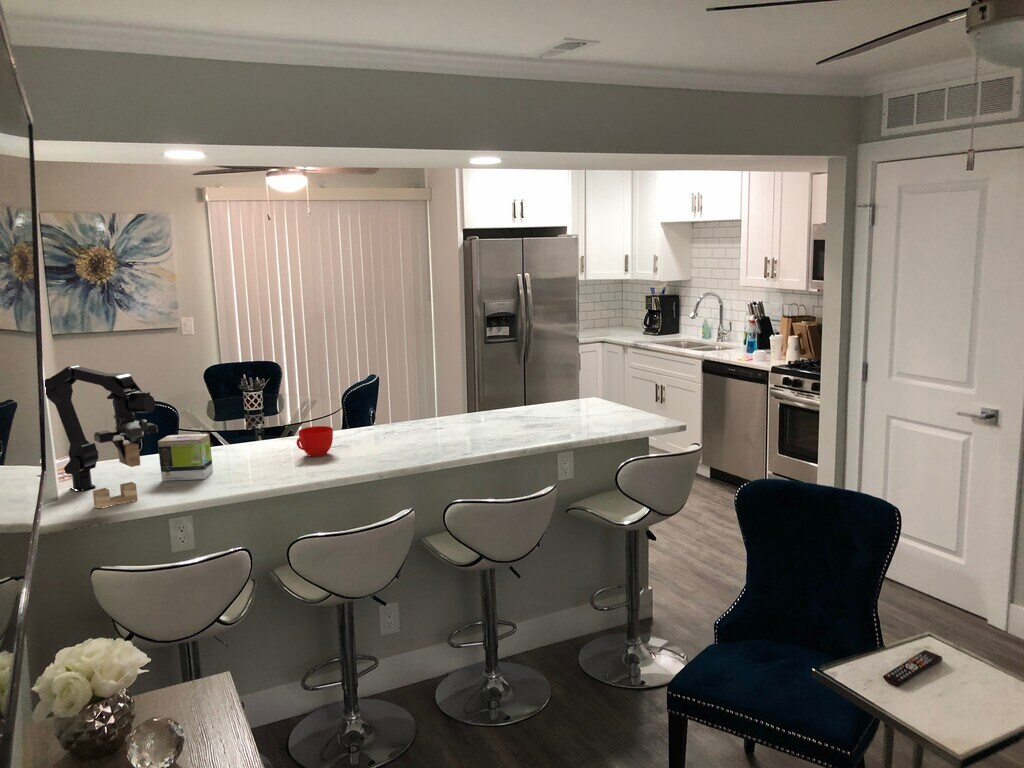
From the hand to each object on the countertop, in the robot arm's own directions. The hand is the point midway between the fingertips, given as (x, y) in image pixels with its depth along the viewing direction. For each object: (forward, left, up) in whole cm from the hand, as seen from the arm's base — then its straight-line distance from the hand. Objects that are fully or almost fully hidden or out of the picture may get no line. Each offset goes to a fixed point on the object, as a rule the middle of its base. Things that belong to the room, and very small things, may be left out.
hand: (129, 457), depth 269 cm
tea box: (-2, +20, -12) cm, 23 cm away
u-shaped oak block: (+10, -9, -12) cm, 18 cm away
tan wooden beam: (0, 0, -2) cm, 2 cm away
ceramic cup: (+9, +65, -12) cm, 67 cm away
